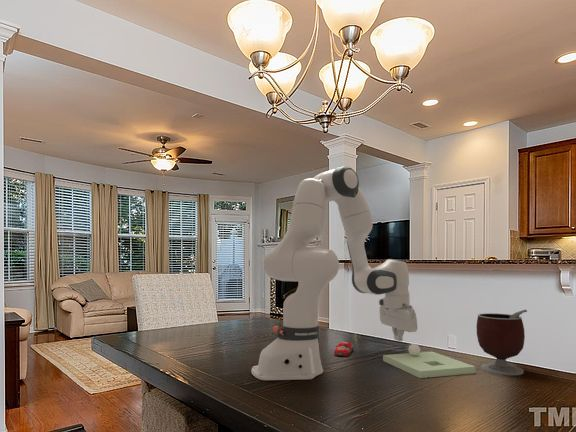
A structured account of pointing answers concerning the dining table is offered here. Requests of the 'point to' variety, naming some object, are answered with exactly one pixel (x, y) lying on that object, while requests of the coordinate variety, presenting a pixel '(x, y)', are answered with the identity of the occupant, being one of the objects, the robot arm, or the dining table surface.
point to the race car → (343, 349)
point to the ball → (414, 349)
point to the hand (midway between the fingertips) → (398, 340)
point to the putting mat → (428, 364)
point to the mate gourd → (501, 340)
